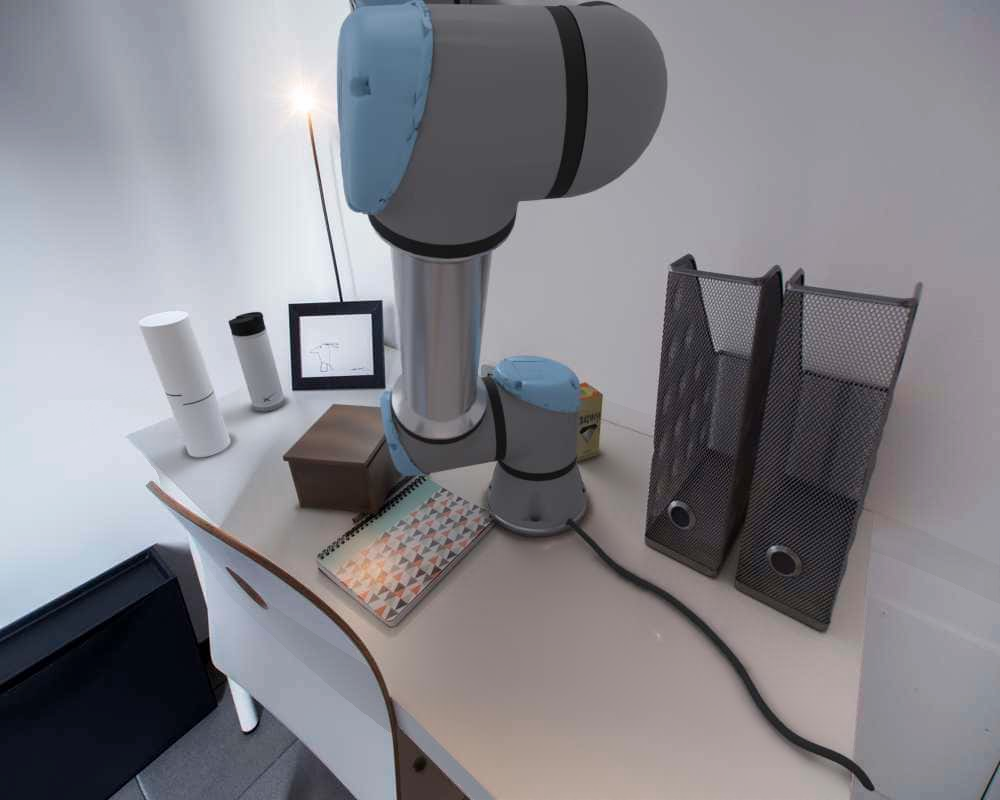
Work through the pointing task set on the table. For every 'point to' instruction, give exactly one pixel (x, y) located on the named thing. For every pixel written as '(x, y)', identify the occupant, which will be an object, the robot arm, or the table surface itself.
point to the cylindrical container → (185, 381)
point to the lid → (341, 437)
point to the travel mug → (257, 361)
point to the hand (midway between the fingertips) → (407, 259)
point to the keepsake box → (346, 484)
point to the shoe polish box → (589, 422)
